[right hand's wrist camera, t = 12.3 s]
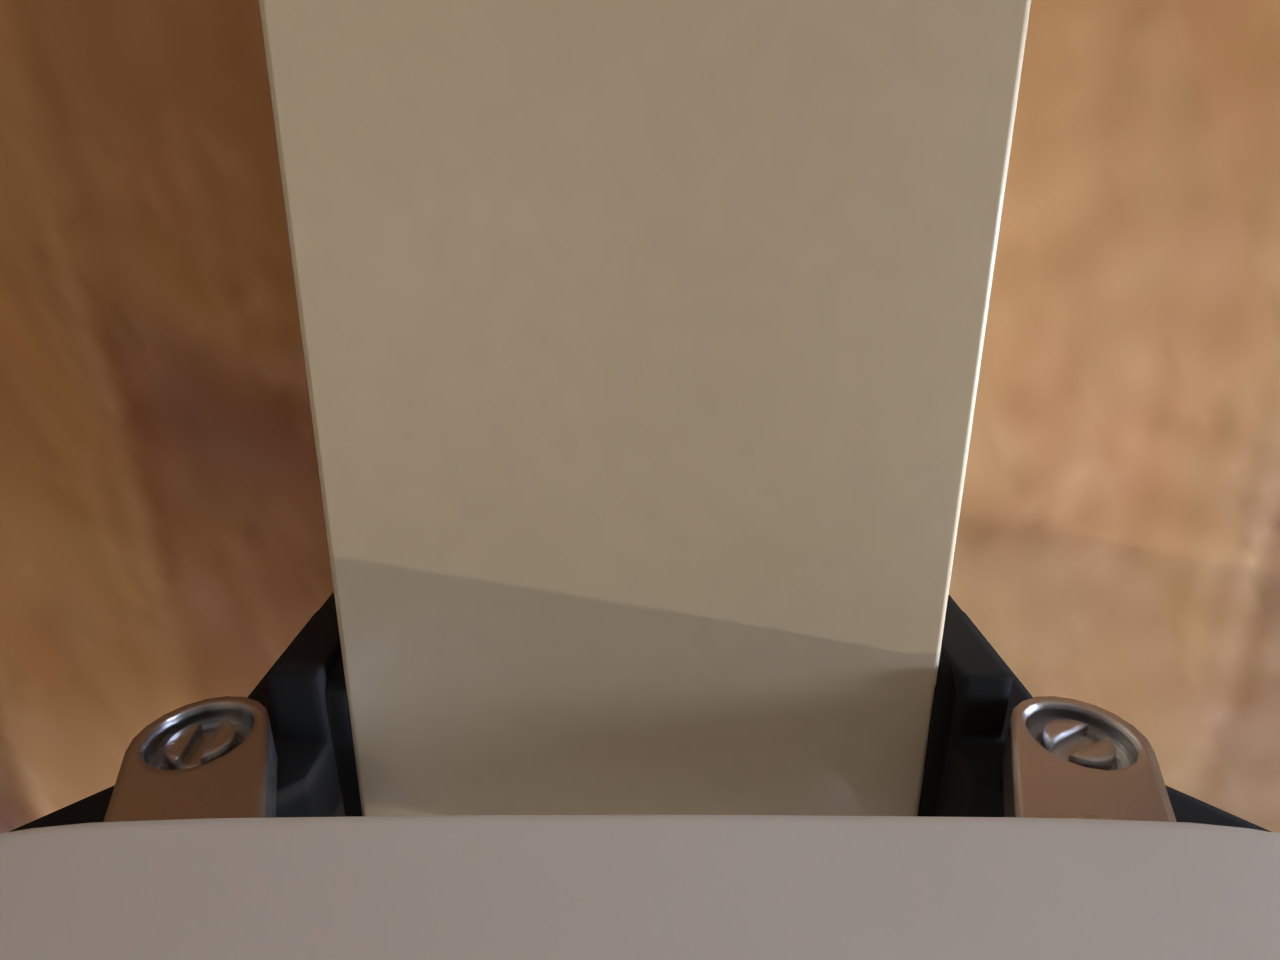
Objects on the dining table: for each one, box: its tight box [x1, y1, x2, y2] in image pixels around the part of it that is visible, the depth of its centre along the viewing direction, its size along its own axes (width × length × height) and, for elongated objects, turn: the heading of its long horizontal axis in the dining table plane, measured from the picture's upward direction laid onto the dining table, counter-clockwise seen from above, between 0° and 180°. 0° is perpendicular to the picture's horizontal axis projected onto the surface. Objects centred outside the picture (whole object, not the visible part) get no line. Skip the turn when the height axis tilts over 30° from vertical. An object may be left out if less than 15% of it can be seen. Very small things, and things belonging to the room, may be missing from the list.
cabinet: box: [259, 0, 1031, 816], centre depth 10 cm, size 21×6×8 cm, turn 0°
